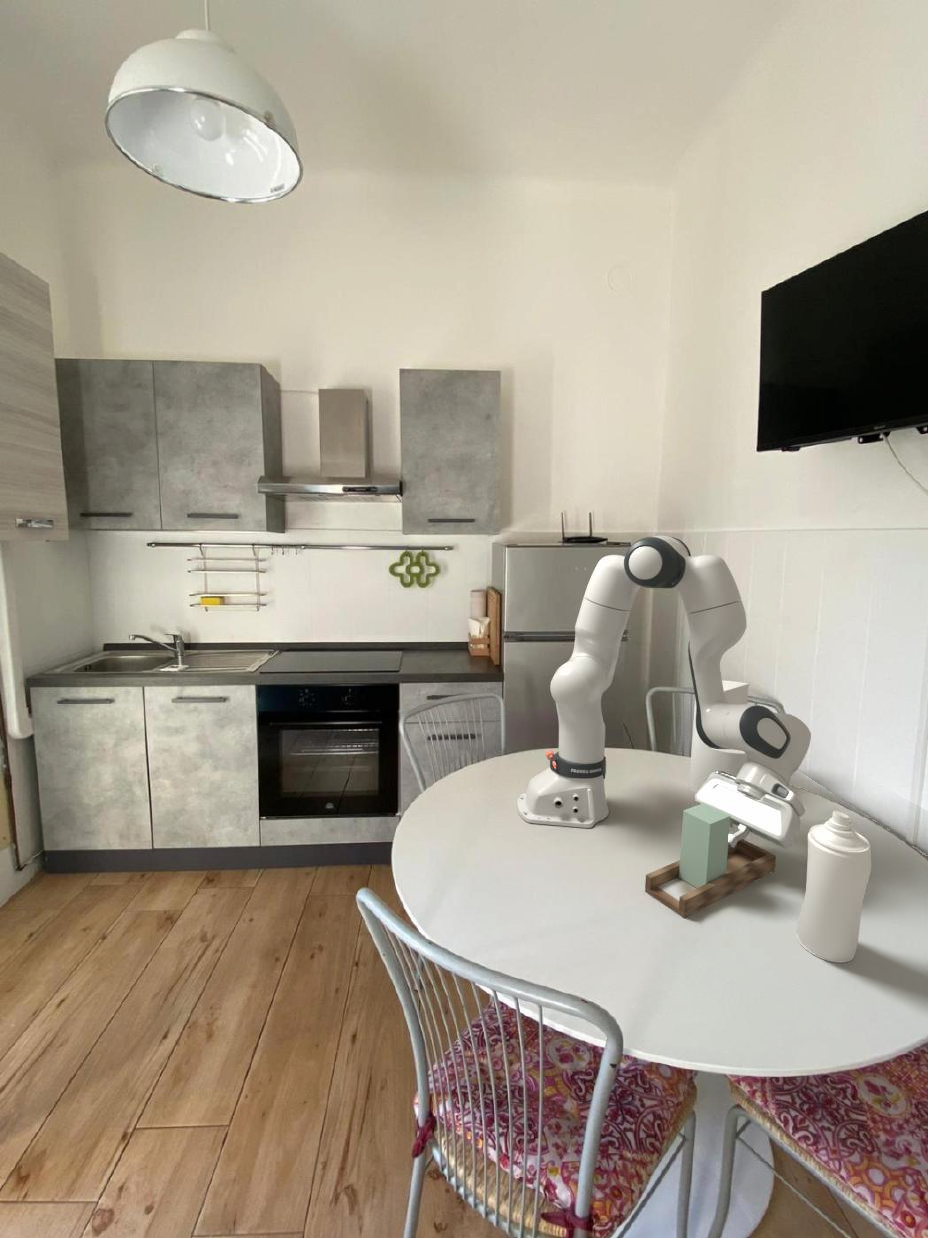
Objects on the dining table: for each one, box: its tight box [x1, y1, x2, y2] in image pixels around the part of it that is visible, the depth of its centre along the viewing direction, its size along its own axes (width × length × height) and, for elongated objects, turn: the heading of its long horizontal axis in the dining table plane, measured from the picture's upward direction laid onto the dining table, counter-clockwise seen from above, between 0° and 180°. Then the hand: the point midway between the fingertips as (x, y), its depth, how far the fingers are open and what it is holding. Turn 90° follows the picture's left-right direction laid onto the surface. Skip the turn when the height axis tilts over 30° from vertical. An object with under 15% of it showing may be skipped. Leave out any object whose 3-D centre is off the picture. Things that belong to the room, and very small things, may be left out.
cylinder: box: [688, 679, 750, 795], centre depth 153 cm, size 17×17×28 cm
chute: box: [644, 838, 777, 919], centre depth 115 cm, size 28×9×4 cm, turn 121°
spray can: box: [795, 810, 872, 964], centre depth 95 cm, size 12×11×25 cm
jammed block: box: [679, 803, 731, 888], centre depth 113 cm, size 6×6×14 cm
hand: (725, 843), depth 116 cm, fingers closed
